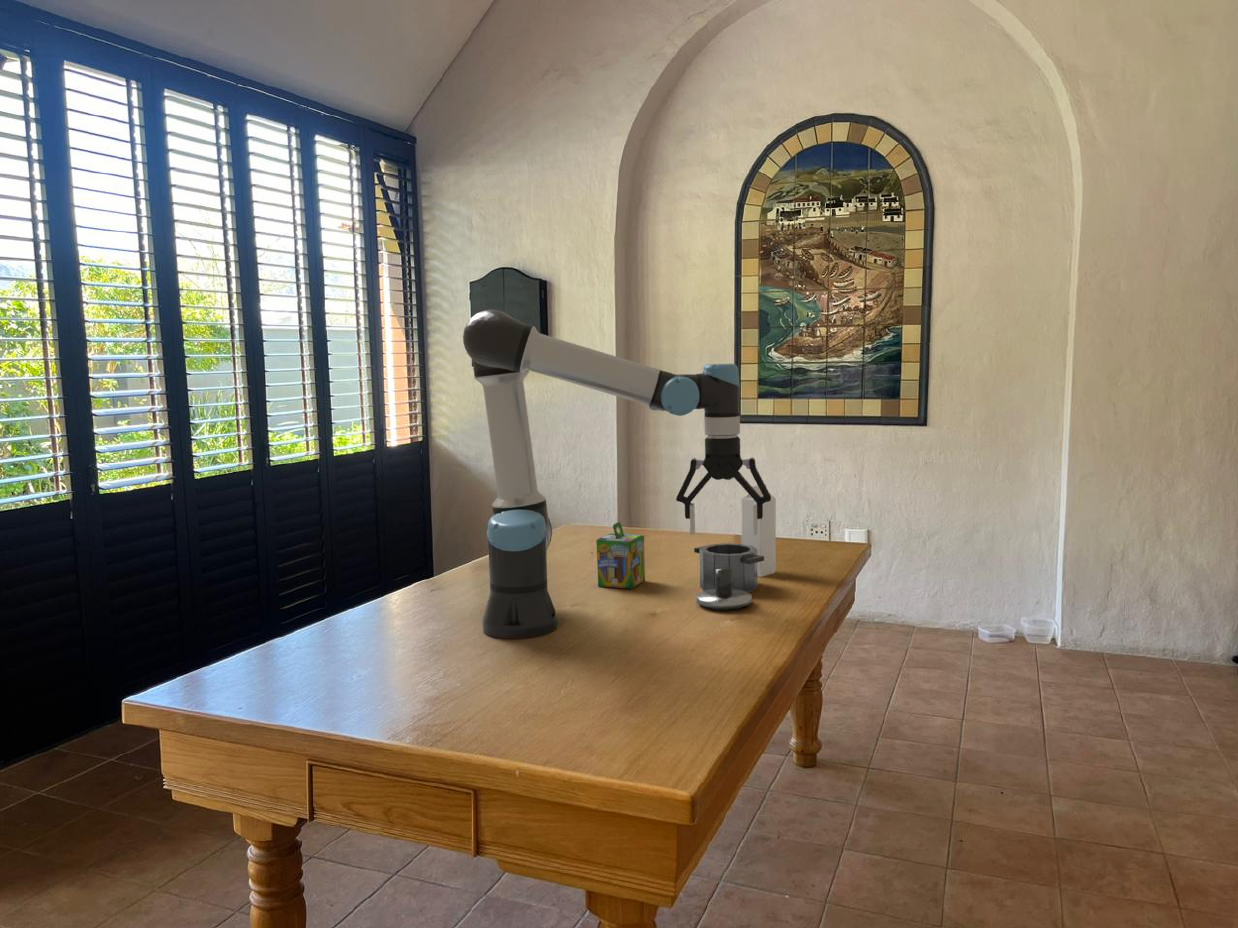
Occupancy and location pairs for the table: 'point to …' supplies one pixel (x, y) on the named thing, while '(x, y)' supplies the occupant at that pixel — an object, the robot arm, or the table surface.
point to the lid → (723, 593)
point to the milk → (761, 532)
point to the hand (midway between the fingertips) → (724, 533)
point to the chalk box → (620, 559)
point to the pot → (729, 565)
